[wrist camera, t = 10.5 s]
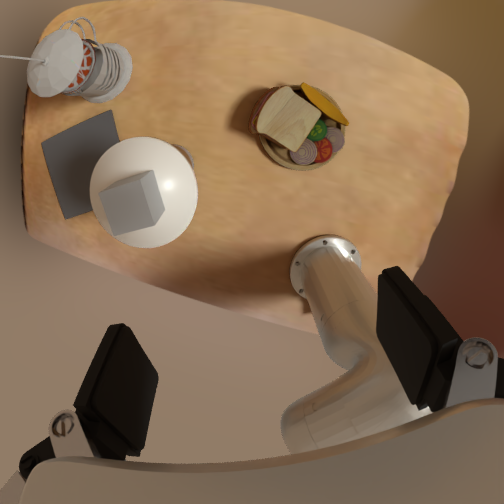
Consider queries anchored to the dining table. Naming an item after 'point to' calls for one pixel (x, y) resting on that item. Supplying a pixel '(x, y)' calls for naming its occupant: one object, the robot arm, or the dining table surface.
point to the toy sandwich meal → (299, 126)
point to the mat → (78, 160)
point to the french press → (77, 66)
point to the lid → (144, 192)
